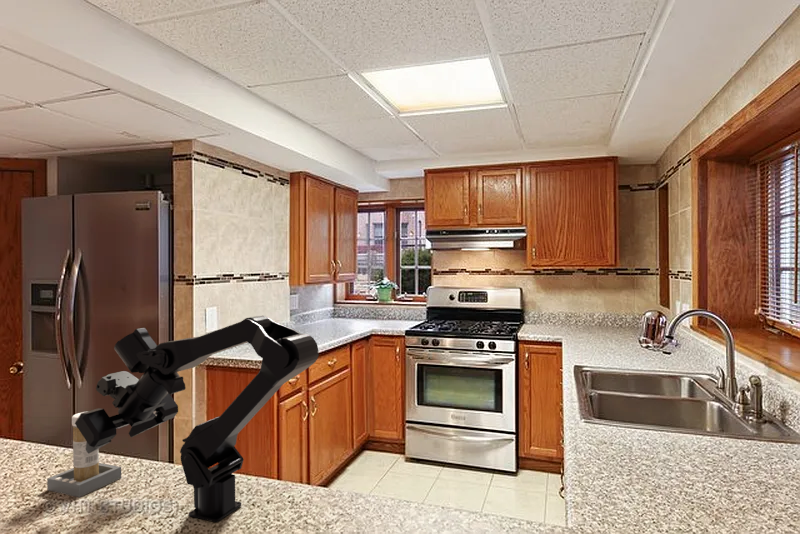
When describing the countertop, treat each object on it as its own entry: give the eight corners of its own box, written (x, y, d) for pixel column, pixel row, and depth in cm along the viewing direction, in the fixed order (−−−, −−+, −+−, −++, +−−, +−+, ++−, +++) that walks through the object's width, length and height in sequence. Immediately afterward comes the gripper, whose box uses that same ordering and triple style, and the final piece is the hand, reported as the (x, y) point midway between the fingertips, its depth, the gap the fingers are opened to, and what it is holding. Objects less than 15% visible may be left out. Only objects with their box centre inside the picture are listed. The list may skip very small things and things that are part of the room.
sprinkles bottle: (96, 473, 102) (95, 408, 102) (102, 479, 99) (101, 413, 99) (70, 480, 99) (69, 413, 99) (75, 487, 95) (74, 418, 95)
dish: (121, 478, 101) (121, 465, 101) (79, 497, 93) (79, 484, 93) (90, 471, 104) (90, 460, 104) (47, 490, 96) (47, 477, 96)
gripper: (166, 351, 103) (129, 399, 107) (81, 368, 86) (40, 426, 90) (196, 390, 100) (157, 439, 104) (114, 417, 83) (71, 474, 87)
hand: (110, 442), depth 96 cm, fingers open, 9 cm apart
